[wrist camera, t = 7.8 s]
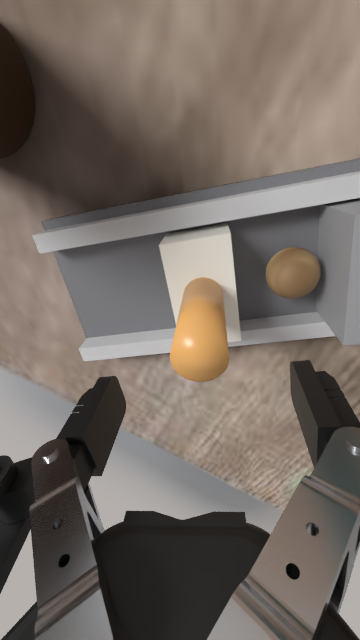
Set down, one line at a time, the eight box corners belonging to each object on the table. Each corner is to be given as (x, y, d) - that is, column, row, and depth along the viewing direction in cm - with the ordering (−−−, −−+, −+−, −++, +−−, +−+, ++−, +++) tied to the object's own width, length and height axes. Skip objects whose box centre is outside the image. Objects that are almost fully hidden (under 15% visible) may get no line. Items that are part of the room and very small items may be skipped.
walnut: (311, 237, 23) (330, 250, 19) (310, 284, 25) (327, 303, 21) (260, 245, 23) (269, 259, 20) (263, 290, 25) (271, 310, 22)
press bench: (363, 157, 21) (432, 152, 15) (348, 321, 27) (391, 369, 21) (50, 218, 26) (-6, 236, 19) (98, 348, 32) (68, 394, 25)
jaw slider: (227, 223, 23) (242, 270, 12) (237, 318, 26) (254, 416, 16) (166, 233, 23) (130, 286, 13) (184, 324, 27) (168, 421, 17)
